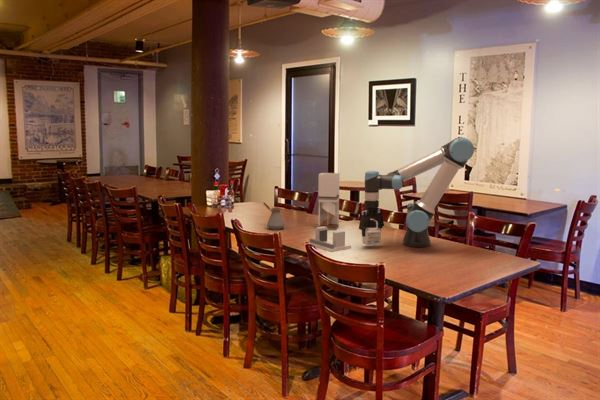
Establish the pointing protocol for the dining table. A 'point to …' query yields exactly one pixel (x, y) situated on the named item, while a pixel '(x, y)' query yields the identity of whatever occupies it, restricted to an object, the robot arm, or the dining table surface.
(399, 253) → the dining table surface
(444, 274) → the dining table surface
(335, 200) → the grey dispenser tower
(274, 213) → the coffee pot
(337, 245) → the rail board
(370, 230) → the container
